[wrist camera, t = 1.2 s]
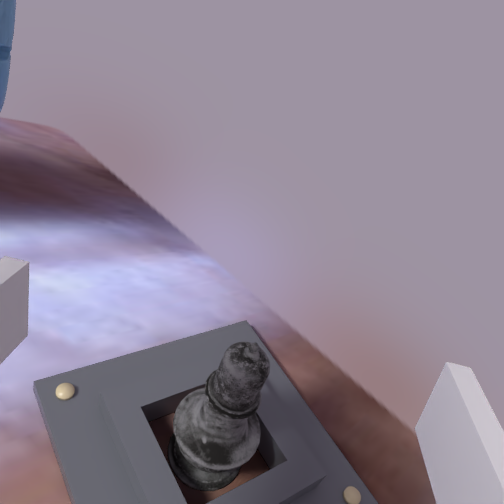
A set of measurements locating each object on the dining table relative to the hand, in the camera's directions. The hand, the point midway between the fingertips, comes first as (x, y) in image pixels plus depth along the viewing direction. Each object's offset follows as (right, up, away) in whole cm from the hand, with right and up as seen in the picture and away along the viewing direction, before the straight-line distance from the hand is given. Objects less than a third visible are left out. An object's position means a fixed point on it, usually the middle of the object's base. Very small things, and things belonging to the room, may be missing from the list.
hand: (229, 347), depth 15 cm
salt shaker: (-3, -11, +19) cm, 22 cm away
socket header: (-3, -11, +18) cm, 22 cm away
